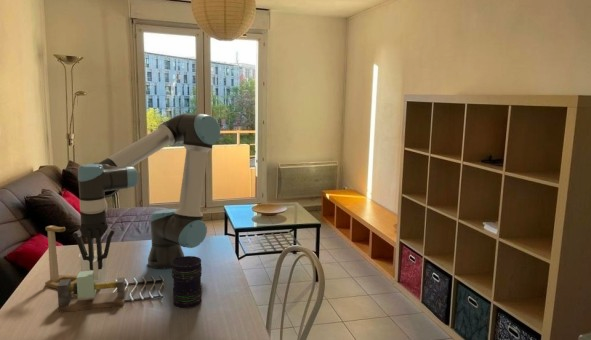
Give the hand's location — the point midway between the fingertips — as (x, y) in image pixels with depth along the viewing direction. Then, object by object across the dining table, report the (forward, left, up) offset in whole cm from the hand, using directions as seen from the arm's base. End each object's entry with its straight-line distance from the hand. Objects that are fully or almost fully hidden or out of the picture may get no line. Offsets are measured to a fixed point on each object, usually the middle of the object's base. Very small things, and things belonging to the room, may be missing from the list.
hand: (96, 278), depth 143 cm
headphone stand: (+15, -20, -9) cm, 26 cm away
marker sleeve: (+3, 0, -5) cm, 6 cm away
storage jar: (-29, +7, -9) cm, 32 cm away
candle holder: (+4, -17, -9) cm, 20 cm away
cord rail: (+2, 0, -9) cm, 9 cm away
